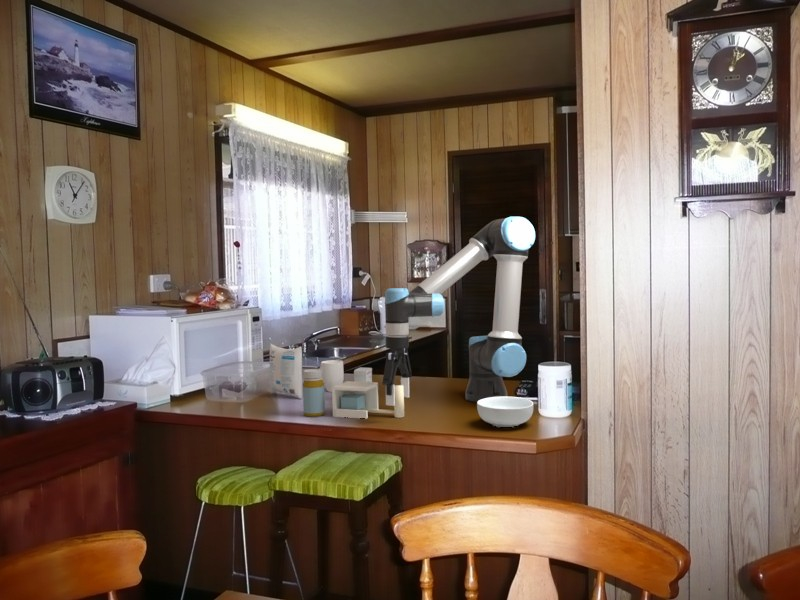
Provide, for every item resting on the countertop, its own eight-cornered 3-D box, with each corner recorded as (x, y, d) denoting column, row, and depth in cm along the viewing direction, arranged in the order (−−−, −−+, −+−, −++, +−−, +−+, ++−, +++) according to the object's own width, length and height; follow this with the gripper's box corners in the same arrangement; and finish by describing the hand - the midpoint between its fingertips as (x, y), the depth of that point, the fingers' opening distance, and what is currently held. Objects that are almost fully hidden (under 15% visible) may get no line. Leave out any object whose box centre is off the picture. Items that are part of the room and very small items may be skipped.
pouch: (292, 401, 237) (290, 347, 236) (264, 394, 251) (262, 344, 250) (309, 397, 243) (307, 345, 242) (281, 391, 256) (279, 342, 255)
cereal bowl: (466, 425, 193) (465, 402, 193) (499, 415, 205) (498, 394, 204) (512, 435, 181) (511, 410, 181) (544, 424, 193) (544, 400, 192)
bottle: (314, 411, 218) (313, 368, 218) (329, 414, 214) (327, 369, 213) (299, 415, 213) (297, 371, 212) (313, 418, 208) (312, 372, 208)
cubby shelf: (378, 411, 215) (377, 382, 215) (366, 418, 205) (365, 388, 205) (346, 409, 219) (345, 381, 219) (332, 416, 210) (331, 386, 209)
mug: (349, 389, 256) (347, 360, 255) (333, 394, 249) (332, 364, 248) (328, 387, 263) (327, 358, 262) (313, 391, 256) (311, 361, 255)
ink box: (367, 403, 230) (366, 370, 229) (353, 403, 231) (352, 370, 230) (372, 398, 238) (372, 366, 237) (360, 398, 239) (359, 366, 238)
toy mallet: (407, 414, 209) (406, 384, 209) (400, 418, 204) (400, 387, 203) (348, 411, 217) (348, 382, 216) (341, 415, 211) (340, 385, 210)
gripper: (399, 332, 219) (400, 393, 220) (371, 339, 195) (372, 408, 196) (420, 332, 216) (421, 394, 217) (394, 340, 193) (395, 409, 194)
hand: (397, 401), depth 207 cm, fingers open, 13 cm apart
